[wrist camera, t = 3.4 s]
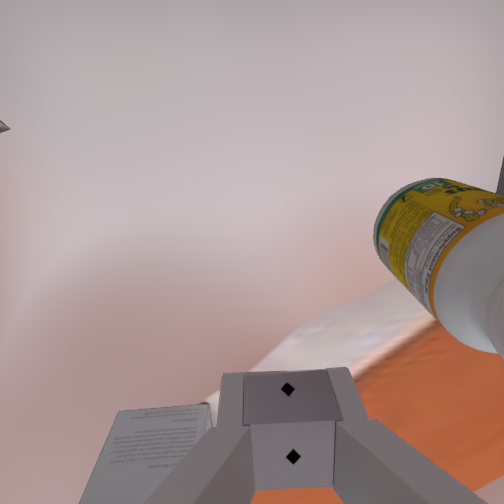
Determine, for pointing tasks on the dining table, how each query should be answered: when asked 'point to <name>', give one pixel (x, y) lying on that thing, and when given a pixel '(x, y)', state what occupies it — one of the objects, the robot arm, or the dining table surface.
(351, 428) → the robot arm
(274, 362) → the dining table surface
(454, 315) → the supplement bottle
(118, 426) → the skincare box
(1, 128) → the pancake mix bag
